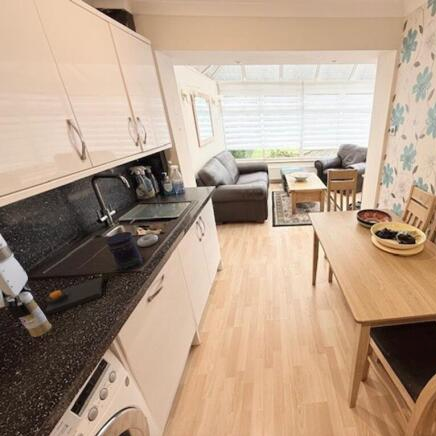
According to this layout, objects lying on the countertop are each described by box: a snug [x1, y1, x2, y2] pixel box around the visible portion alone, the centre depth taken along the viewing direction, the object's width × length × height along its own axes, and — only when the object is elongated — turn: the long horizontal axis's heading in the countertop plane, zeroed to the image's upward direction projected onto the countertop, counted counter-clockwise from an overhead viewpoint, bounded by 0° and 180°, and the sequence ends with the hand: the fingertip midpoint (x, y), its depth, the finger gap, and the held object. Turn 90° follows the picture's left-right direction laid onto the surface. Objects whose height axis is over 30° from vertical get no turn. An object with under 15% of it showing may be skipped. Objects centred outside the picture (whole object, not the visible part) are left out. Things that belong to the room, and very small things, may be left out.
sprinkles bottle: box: [8, 292, 52, 338], centre depth 69 cm, size 5×5×13 cm
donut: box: [136, 233, 159, 248], centre depth 128 cm, size 10×4×10 cm
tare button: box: [49, 289, 62, 299], centre depth 90 cm, size 3×3×2 cm
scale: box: [45, 276, 105, 316], centre depth 93 cm, size 16×12×4 cm
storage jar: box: [105, 231, 144, 272], centre depth 108 cm, size 10×10×15 cm
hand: (26, 309), depth 68 cm, fingers closed on sprinkles bottle, 4 cm apart
